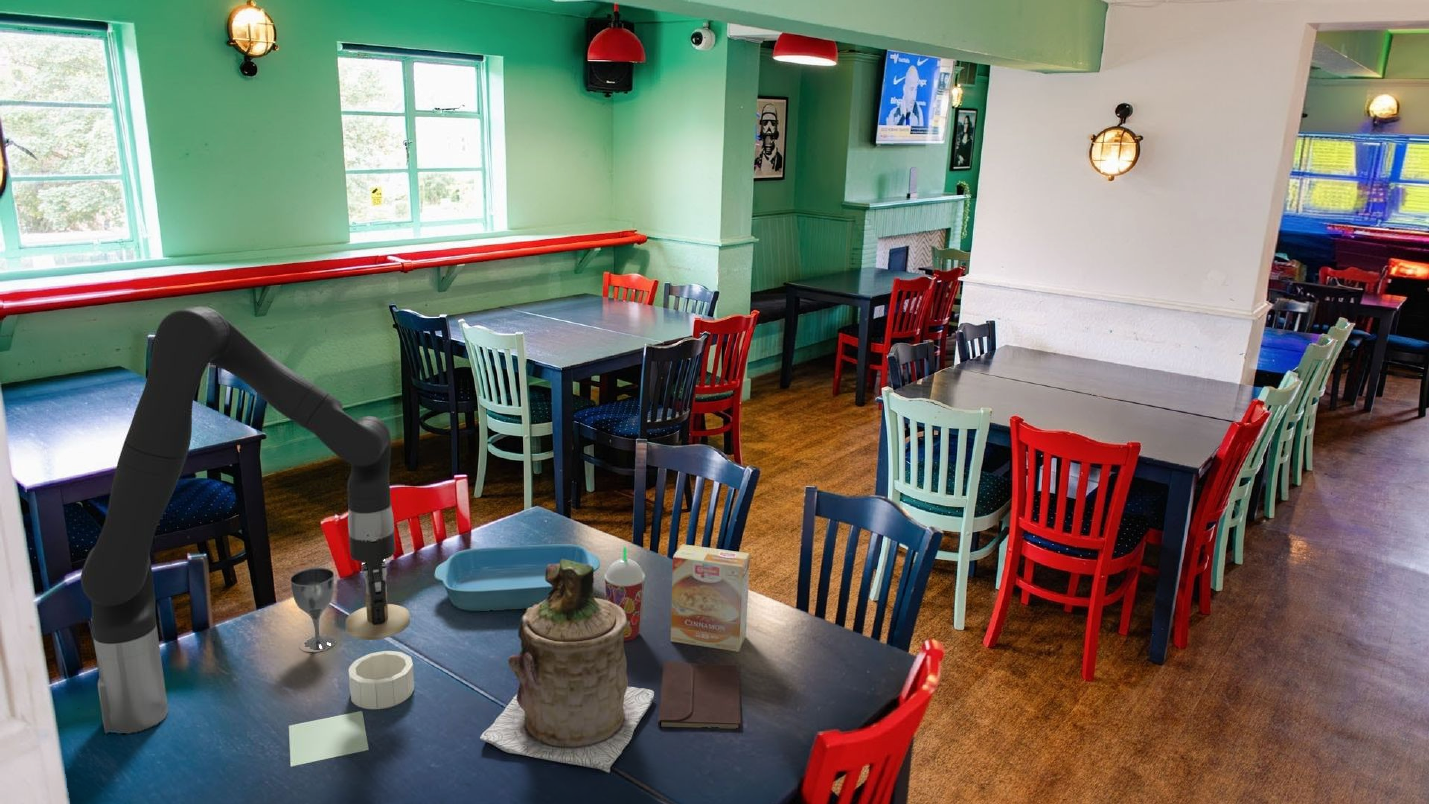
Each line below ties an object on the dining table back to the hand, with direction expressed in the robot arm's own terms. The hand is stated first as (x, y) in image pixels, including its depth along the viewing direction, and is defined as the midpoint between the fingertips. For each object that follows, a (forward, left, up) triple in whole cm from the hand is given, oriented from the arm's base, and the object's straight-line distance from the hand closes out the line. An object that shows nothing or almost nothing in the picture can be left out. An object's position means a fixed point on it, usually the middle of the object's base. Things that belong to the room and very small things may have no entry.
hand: (377, 617), depth 171 cm
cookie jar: (+30, -21, -16) cm, 40 cm away
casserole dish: (+33, +32, -16) cm, 49 cm away
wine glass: (-10, +24, -16) cm, 31 cm away
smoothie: (+49, +5, -16) cm, 52 cm away
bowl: (0, 0, -16) cm, 16 cm away
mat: (-10, -11, -16) cm, 22 cm away
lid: (0, 0, -1) cm, 1 cm away
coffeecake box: (+65, -3, -16) cm, 67 cm away
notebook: (+55, -22, -17) cm, 61 cm away
